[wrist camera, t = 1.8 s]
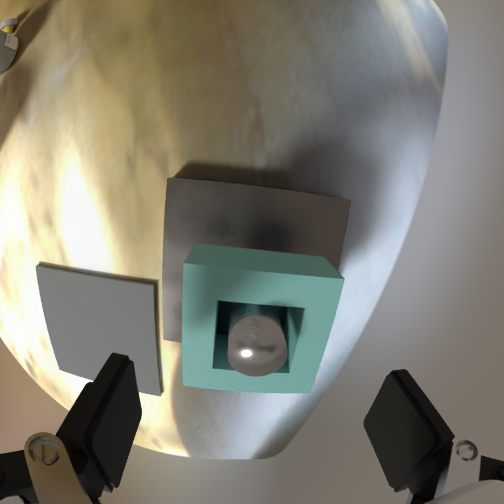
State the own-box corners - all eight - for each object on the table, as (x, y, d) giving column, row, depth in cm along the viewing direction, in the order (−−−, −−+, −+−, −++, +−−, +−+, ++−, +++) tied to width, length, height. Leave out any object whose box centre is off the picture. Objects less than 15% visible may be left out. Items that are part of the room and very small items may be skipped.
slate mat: (38, 264, 19) (35, 266, 19) (154, 283, 20) (153, 285, 20) (61, 367, 23) (59, 369, 22) (161, 393, 23) (160, 396, 23)
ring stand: (172, 177, 18) (107, 186, 8) (342, 198, 19) (427, 226, 9) (167, 329, 21) (132, 422, 12) (311, 342, 22) (346, 433, 13)
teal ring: (195, 243, 13) (183, 263, 10) (324, 256, 14) (344, 279, 11) (191, 350, 15) (182, 385, 12) (299, 358, 15) (310, 393, 13)
